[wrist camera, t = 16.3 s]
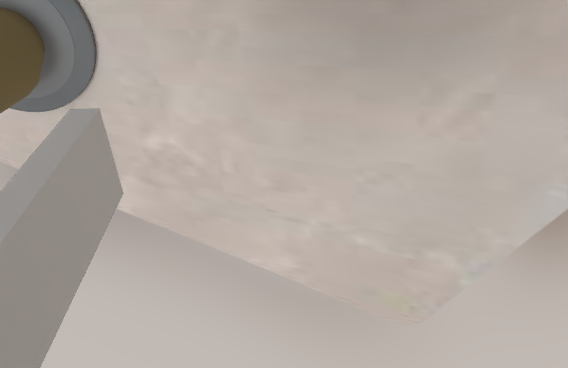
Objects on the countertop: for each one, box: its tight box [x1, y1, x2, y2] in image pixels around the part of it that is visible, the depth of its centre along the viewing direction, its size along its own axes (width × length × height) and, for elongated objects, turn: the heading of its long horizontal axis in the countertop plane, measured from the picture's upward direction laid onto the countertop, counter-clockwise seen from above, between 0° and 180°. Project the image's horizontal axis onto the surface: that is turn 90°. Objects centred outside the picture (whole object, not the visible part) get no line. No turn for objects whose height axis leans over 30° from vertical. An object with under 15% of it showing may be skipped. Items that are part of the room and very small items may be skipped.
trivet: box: [0, 0, 96, 112], centre depth 41 cm, size 14×14×1 cm
